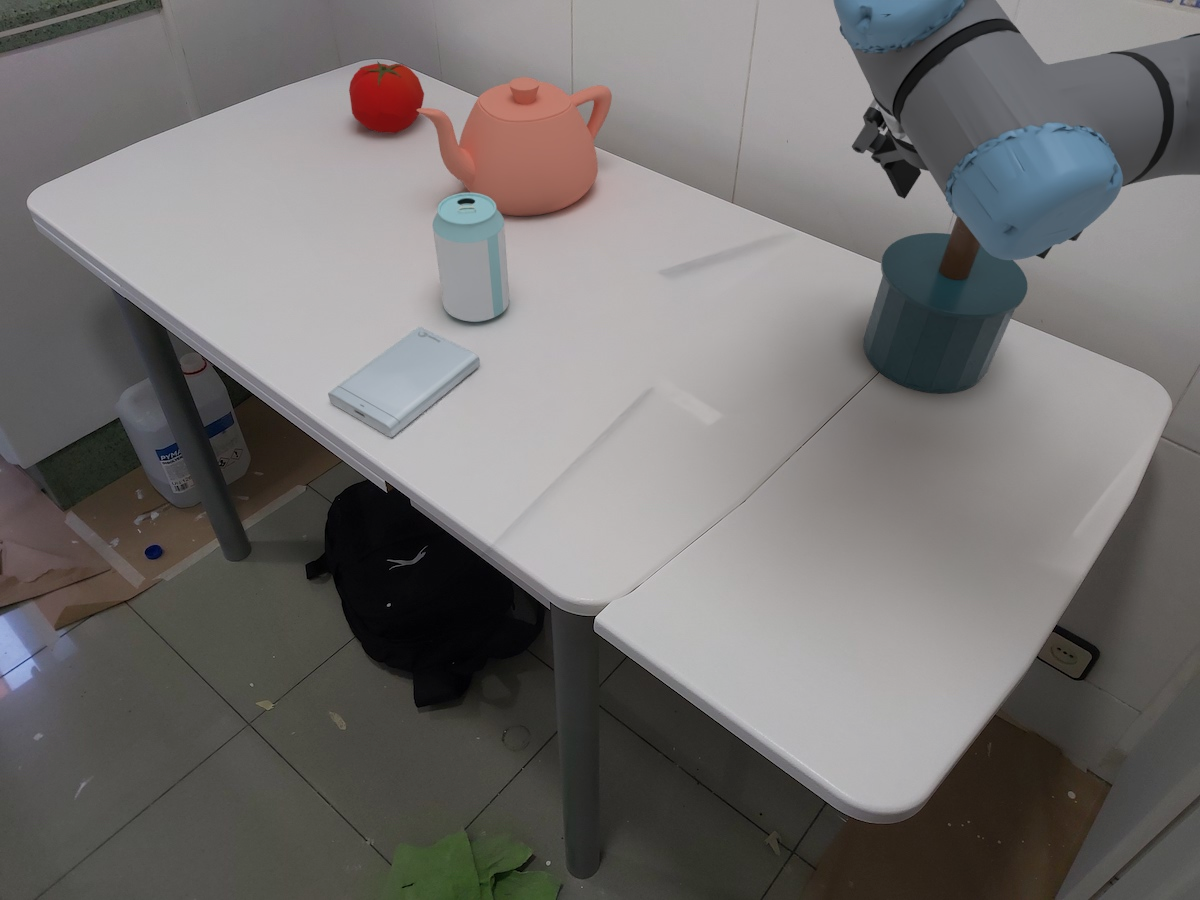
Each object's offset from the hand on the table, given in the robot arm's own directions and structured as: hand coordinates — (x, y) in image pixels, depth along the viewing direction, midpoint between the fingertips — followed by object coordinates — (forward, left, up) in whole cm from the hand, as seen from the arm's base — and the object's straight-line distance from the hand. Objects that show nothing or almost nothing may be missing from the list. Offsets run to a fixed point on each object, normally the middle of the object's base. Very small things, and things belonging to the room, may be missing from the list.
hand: (976, 212), depth 79 cm
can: (+38, +28, -17) cm, 50 cm away
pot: (0, 0, -16) cm, 16 cm away
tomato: (+78, +10, -17) cm, 81 cm away
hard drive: (+33, +41, -17) cm, 55 cm away
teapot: (+53, +8, -17) cm, 56 cm away
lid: (0, 0, -7) cm, 7 cm away
